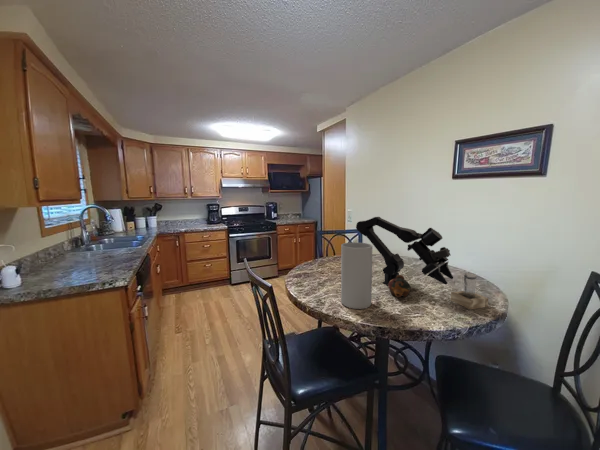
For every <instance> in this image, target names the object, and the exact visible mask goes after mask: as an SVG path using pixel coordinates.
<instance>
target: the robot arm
mask: <svg viewBox="0 0 600 450" xmlns="http://www.w3.org/2000/svg"><path fill="white" fill-rule="evenodd" d="M376 226H377V227H379V228H381V229H383V230H386V231H387V232H390V233H392V234H393V235H395V236H396V237H397V238H398V239H399V240H401V241H402V242H403V243H405V244H407V248H406V249H407V251H411V250H412V251H413V252H415V254H416V255H417V257H419V258H418V260H419V261H422V262H424V264H425V265H424V267H423V268H421V272H422V274H423V275H424V276H427V277H429V278H432V279H434V280H436V281H437V282H440V283H442V284H444V285H448V280H447V279H446V278H445V277H444V276H446V277H447V278H449V279H450V280H453V279H454V276H453V274H452V272H451V270H450V269H449V266H448V265H449V259H448V257H450V256H451V253H450V249H449V248H447V247H445V246H442V247H440V248H439V250H438V251H435V250H434V249H430V248H429V247H433V246H435V245H436V244H437V243H439V242H440V241H441V240H442V239H443V236H442V234H441V233H440V232H439V231H437V230H436V229H434V228H432V227H429V228H428V229H426V231H424V232H423V233H421V232H417V231H416V230H415V229H410V228H407V227H400V226H399V225H397V224H394V223H392V222H390V221H388V220H387V219H384V218H382V217H380V216H373V217H372V218H369V219H367V220H360V221H357V222H356V226H355V228H356V230H357V231H358V232H359V233H360V234H361V235H362V236H365V237H366V238H367V239H368V240H369V242H370V243H371V245H372V246H373V247H374V248H375V249H376V250H377V251H378V252H379V254H380V255H381V257H383V259H384V264H385V265H386V266H385V267H384V268H383V269H382V272H383V274H384V281H382V284H384V285H386V286H388V283H389V282H390V281H391V280H392V279H394V278H396V276H398V275H400V272H401V270H402V269H404V266H405V262H404V261H403V260H404V258H402V257H401V256H400V255H399V253H392V251H391V250H390V249H389V248H388V246H387V245H386V244H385V243H384V242H383V241H382V239H381V238H380V237H379V235H377V234H376V232H375V230H374V227H376ZM417 240H419V241H417Z"/></svg>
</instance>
